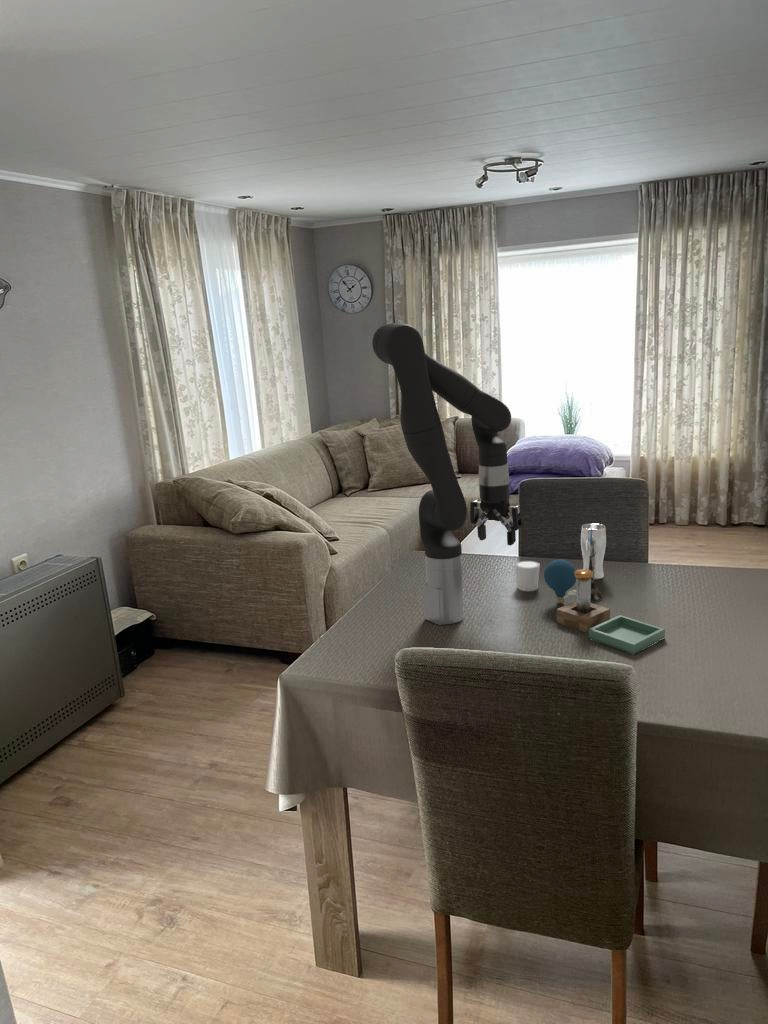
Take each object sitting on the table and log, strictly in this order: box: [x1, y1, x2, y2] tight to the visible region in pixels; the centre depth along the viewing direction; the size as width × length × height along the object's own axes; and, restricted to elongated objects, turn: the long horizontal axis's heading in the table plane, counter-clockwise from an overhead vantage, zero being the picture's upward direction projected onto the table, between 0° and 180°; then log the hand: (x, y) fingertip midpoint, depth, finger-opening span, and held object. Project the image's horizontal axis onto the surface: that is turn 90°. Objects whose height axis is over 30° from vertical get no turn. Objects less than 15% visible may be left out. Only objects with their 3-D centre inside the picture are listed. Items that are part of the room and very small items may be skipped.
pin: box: [574, 568, 593, 614], centre depth 177 cm, size 4×4×13 cm
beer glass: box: [580, 522, 607, 581], centre depth 208 cm, size 7×7×15 cm
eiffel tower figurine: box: [564, 556, 604, 603], centre depth 192 cm, size 15×10×13 cm
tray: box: [588, 614, 666, 655], centre depth 167 cm, size 12×12×2 cm
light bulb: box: [543, 558, 577, 604], centre depth 190 cm, size 8×8×12 cm
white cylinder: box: [514, 560, 541, 592], centre depth 203 cm, size 7×7×7 cm
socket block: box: [556, 600, 611, 633], centre depth 178 cm, size 9×9×4 cm
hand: (496, 542), depth 187 cm, fingers open, 8 cm apart
